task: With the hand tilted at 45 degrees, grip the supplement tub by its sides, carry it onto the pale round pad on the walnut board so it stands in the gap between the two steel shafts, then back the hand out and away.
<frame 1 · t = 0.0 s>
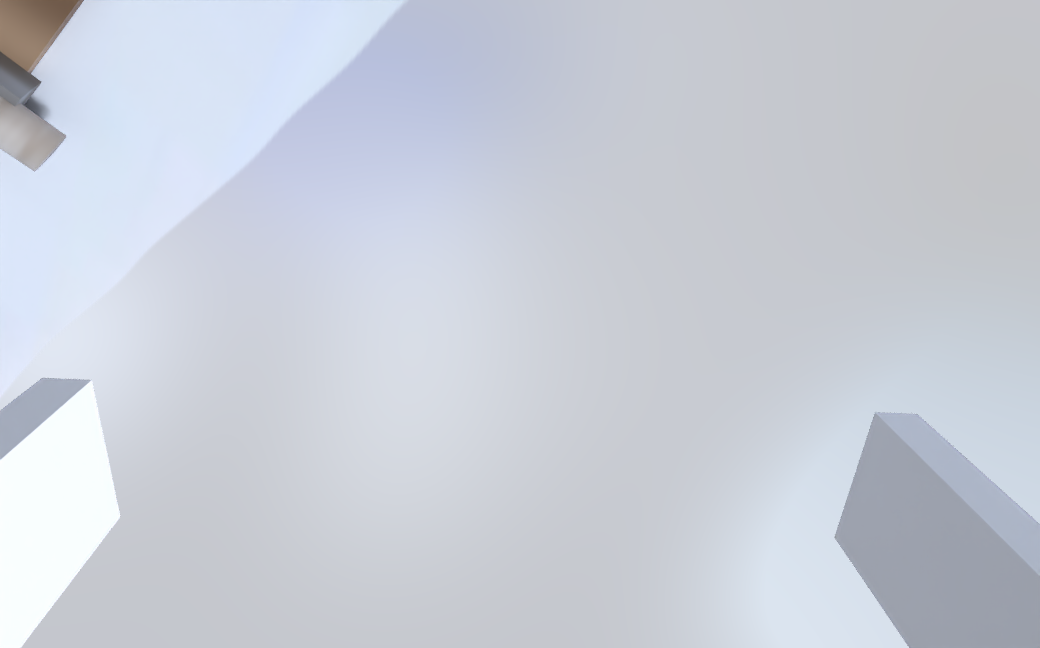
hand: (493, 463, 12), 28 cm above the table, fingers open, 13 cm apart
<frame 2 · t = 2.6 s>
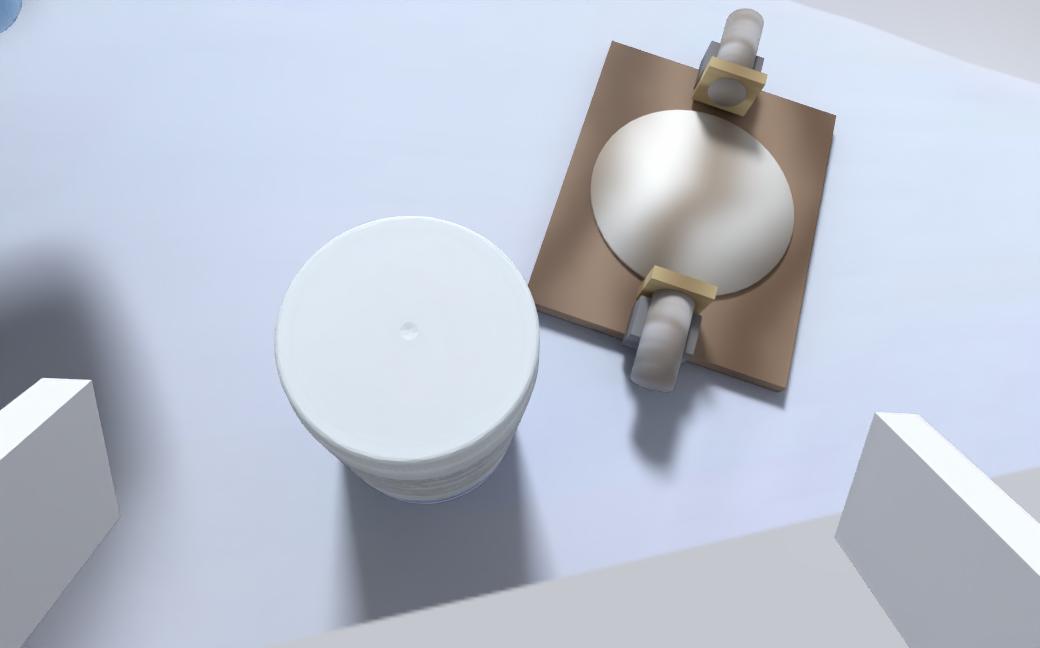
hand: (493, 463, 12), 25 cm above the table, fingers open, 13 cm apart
shaft board: (686, 207, 43), on the table
supplement tub: (426, 416, 37), on the table
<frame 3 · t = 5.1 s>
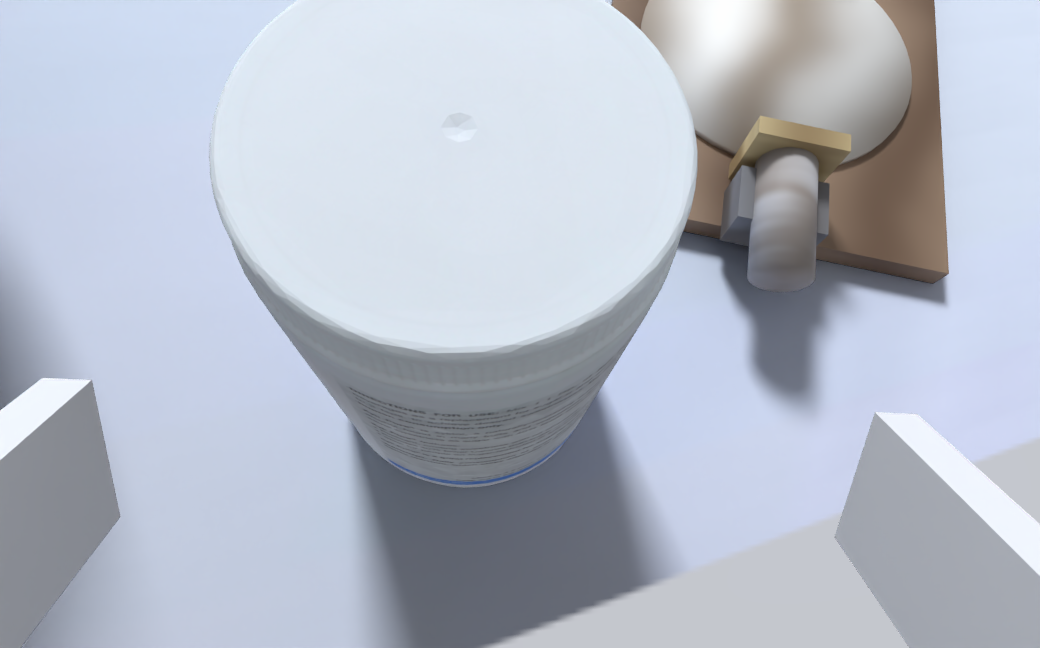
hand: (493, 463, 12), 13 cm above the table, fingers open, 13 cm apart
shaft board: (765, 68, 33), on the table
supplement tub: (465, 367, 26), on the table
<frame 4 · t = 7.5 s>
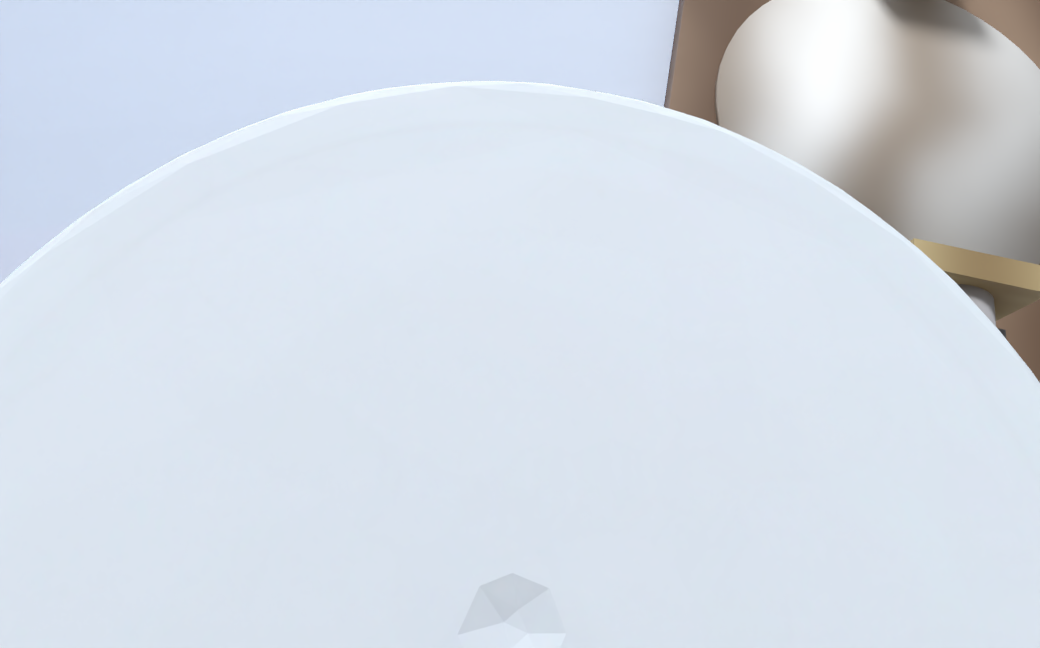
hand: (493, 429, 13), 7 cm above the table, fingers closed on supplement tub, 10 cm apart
shaft board: (879, 142, 25), on the table
supplement tub: (478, 601, 18), on the table, touching gripper
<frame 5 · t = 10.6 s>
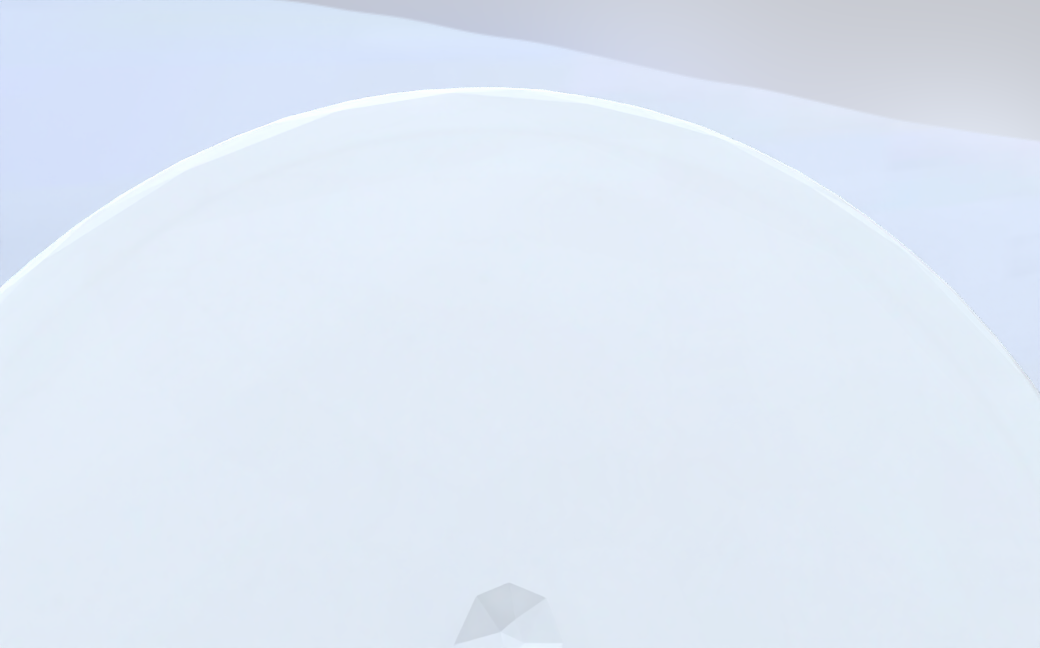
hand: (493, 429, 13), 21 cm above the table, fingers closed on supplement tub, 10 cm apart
supplement tub: (477, 603, 18), point 14 cm above the table, touching gripper
when the fingers open (10 cm above the table, at t = 14.1 s): supplement tub drops 2 cm, resting on shaft board.
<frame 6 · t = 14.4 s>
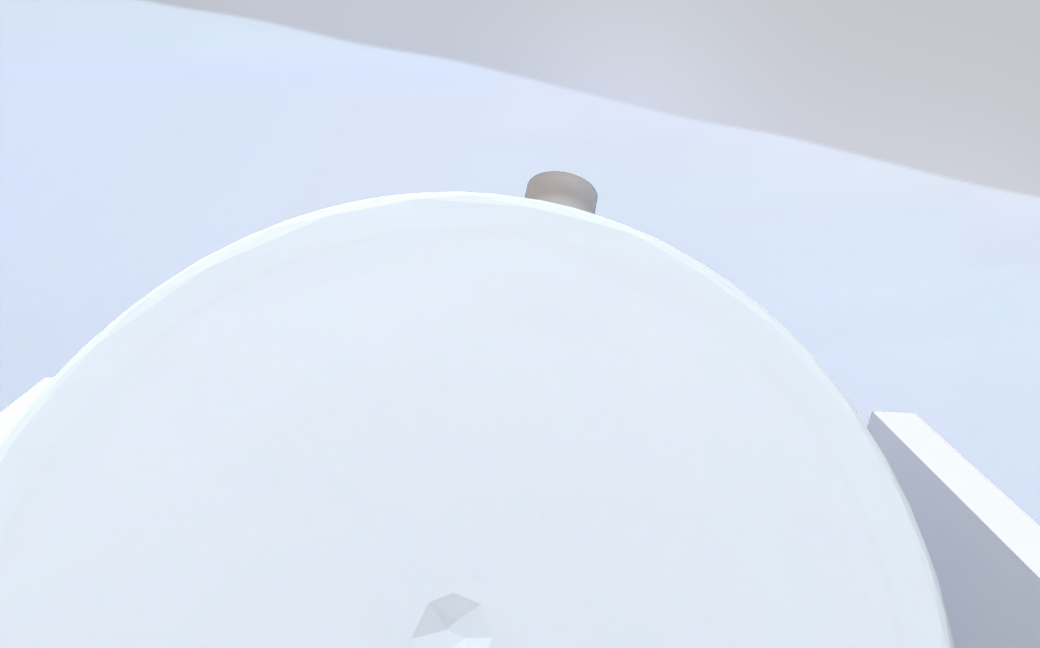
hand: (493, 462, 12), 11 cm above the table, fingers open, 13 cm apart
shaft board: (476, 598, 21), on the table
supplement tub: (465, 603, 20), point 1 cm above the table, touching shaft board
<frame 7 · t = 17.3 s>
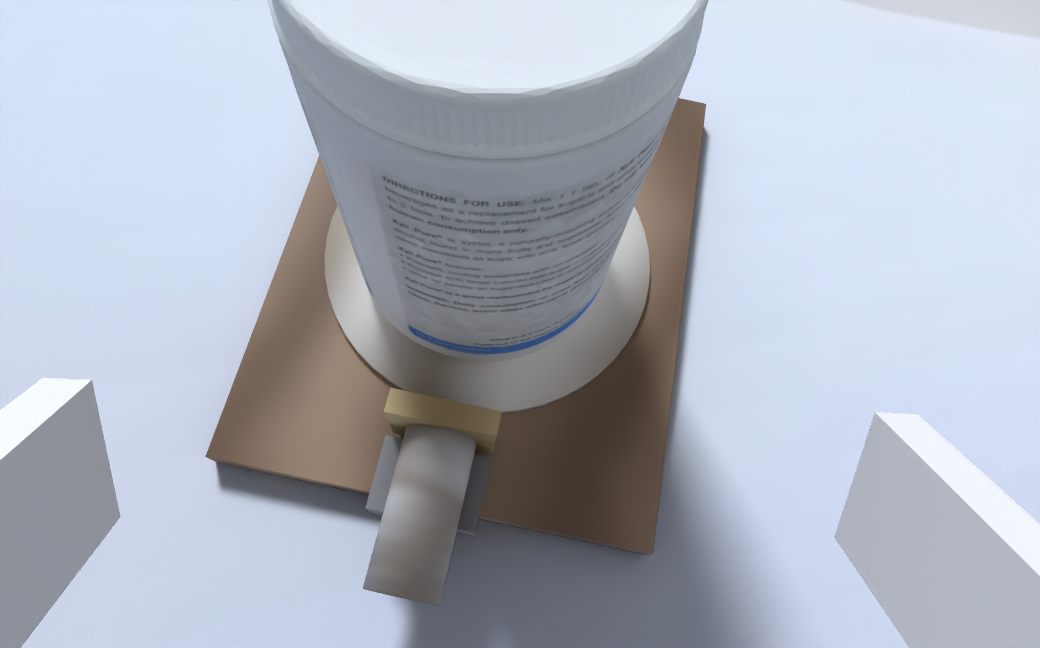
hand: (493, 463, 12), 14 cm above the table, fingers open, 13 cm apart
shaft board: (489, 267, 28), on the table
supplement tub: (481, 257, 27), point 1 cm above the table, touching shaft board
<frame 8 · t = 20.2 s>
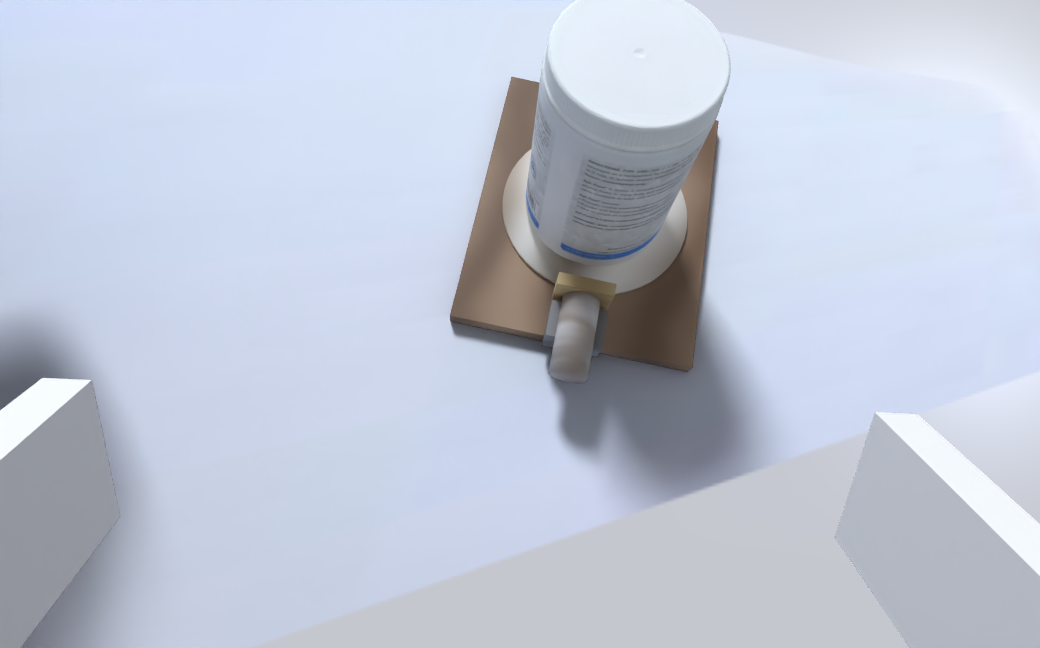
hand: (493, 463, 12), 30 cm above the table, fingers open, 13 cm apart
shaft board: (592, 217, 48), on the table
supplement tub: (590, 210, 47), point 1 cm above the table, touching shaft board
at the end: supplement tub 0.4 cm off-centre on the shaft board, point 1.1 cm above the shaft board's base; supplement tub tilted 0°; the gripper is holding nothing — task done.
